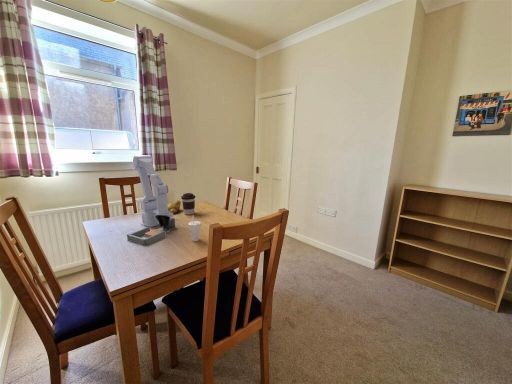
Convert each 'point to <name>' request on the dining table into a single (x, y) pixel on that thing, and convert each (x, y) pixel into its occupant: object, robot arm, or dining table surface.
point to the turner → (170, 225)
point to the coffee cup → (188, 203)
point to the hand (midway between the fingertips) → (164, 226)
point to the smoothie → (194, 229)
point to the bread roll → (174, 206)
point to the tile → (152, 232)
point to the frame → (135, 238)
